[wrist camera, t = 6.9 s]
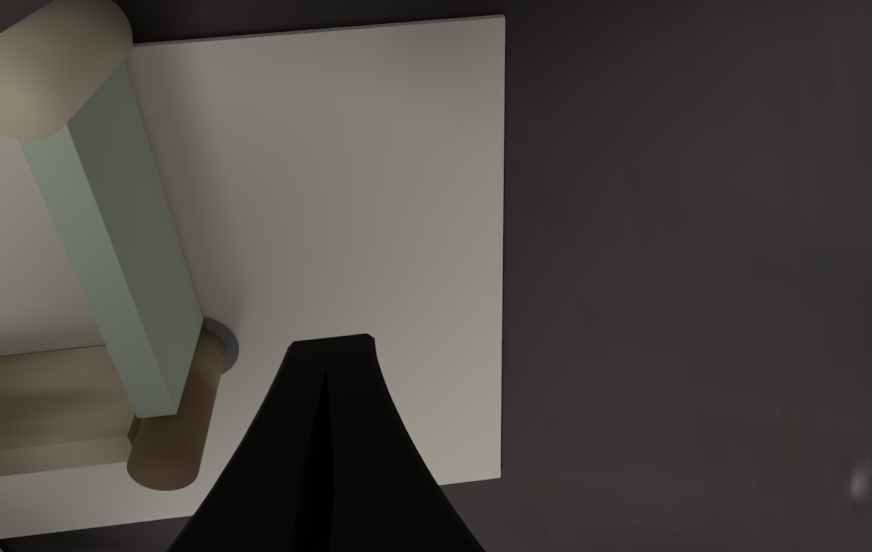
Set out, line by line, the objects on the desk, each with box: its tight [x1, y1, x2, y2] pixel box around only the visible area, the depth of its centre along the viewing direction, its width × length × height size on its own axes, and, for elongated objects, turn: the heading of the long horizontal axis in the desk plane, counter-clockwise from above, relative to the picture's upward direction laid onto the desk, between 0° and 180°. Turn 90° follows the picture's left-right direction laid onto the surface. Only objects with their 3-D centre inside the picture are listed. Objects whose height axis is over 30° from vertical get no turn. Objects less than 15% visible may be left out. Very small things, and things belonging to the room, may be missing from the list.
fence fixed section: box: [0, 328, 226, 491], centre depth 19 cm, size 12×2×5 cm, turn 93°
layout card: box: [0, 14, 505, 539], centre depth 21 cm, size 20×18×1 cm
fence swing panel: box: [0, 0, 204, 418], centre depth 16 cm, size 10×2×4 cm, turn 2°
